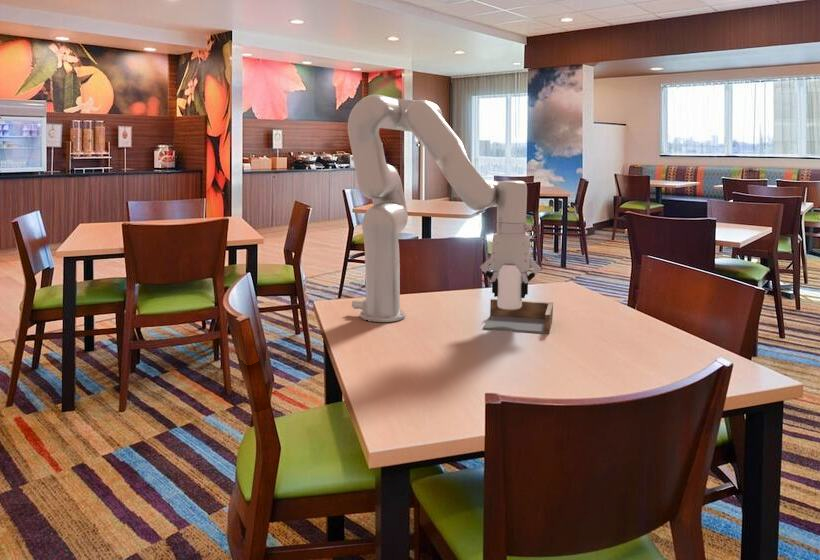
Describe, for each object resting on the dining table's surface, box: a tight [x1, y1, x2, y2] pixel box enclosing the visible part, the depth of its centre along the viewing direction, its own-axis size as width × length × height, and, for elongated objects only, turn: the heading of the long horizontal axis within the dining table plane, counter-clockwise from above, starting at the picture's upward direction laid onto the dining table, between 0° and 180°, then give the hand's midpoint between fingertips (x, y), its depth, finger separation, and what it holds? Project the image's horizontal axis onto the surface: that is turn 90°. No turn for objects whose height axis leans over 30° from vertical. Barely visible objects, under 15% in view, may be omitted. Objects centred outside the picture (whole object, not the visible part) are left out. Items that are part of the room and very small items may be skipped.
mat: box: [482, 315, 551, 335], centre depth 179 cm, size 17×14×1 cm
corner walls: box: [489, 298, 554, 335], centre depth 179 cm, size 17×14×5 cm
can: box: [496, 264, 523, 310], centre depth 176 cm, size 6×6×12 cm
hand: (509, 295), depth 176 cm, fingers closed on can, 6 cm apart
